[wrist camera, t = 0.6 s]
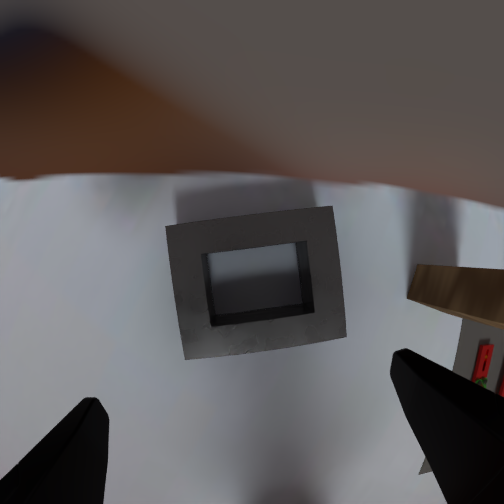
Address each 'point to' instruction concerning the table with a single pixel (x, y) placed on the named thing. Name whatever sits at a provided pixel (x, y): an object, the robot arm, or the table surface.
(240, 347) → the grey block holder
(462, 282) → the brown wooden block
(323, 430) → the table surface
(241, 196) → the table surface
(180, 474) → the table surface
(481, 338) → the gear board
